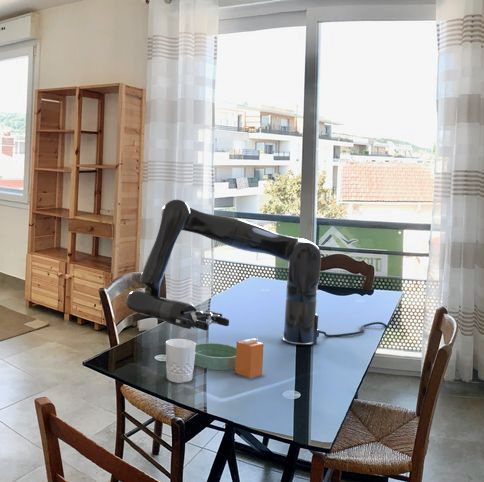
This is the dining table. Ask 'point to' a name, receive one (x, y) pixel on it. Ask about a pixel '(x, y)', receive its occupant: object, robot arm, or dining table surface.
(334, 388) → the dining table surface
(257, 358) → the carton
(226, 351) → the bowl
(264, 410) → the dining table surface
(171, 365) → the white cup
